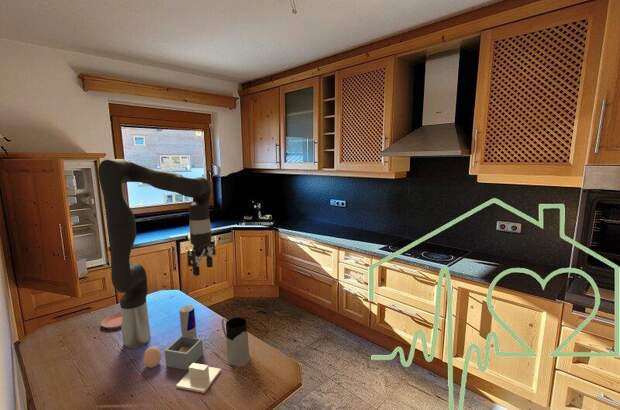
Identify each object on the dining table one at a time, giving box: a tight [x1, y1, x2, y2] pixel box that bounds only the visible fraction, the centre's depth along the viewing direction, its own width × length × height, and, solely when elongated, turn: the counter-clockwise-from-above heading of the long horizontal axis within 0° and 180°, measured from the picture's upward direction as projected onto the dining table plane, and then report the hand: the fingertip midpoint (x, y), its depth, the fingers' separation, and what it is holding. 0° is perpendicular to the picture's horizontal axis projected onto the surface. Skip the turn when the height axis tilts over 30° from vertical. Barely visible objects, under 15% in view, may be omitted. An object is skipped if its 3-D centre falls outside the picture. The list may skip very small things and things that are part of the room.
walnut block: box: [179, 347, 192, 353], centre depth 114 cm, size 4×4×4 cm
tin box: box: [164, 335, 204, 371], centre depth 114 cm, size 9×9×7 cm
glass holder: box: [221, 316, 251, 368], centre depth 116 cm, size 9×14×15 cm, turn 48°
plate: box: [100, 311, 122, 330], centre depth 143 cm, size 14×14×2 cm
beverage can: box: [179, 304, 198, 338], centre depth 125 cm, size 6×6×15 cm
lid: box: [175, 362, 222, 394], centre depth 104 cm, size 10×10×5 cm
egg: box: [142, 346, 162, 369], centre depth 112 cm, size 6×6×8 cm
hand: (203, 271), depth 118 cm, fingers open, 8 cm apart
